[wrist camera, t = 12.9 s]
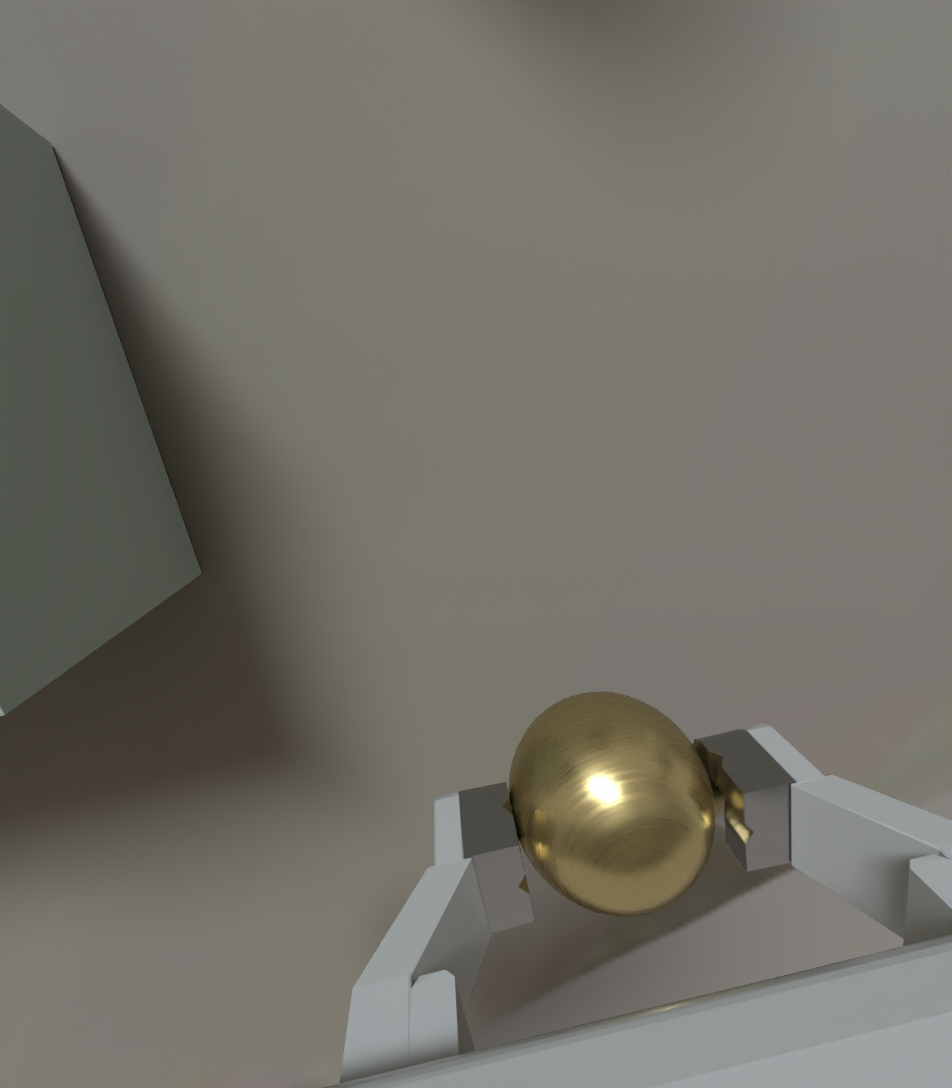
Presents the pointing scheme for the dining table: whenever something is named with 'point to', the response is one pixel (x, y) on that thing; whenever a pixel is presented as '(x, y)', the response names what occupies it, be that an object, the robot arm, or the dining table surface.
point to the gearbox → (69, 443)
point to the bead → (612, 803)
